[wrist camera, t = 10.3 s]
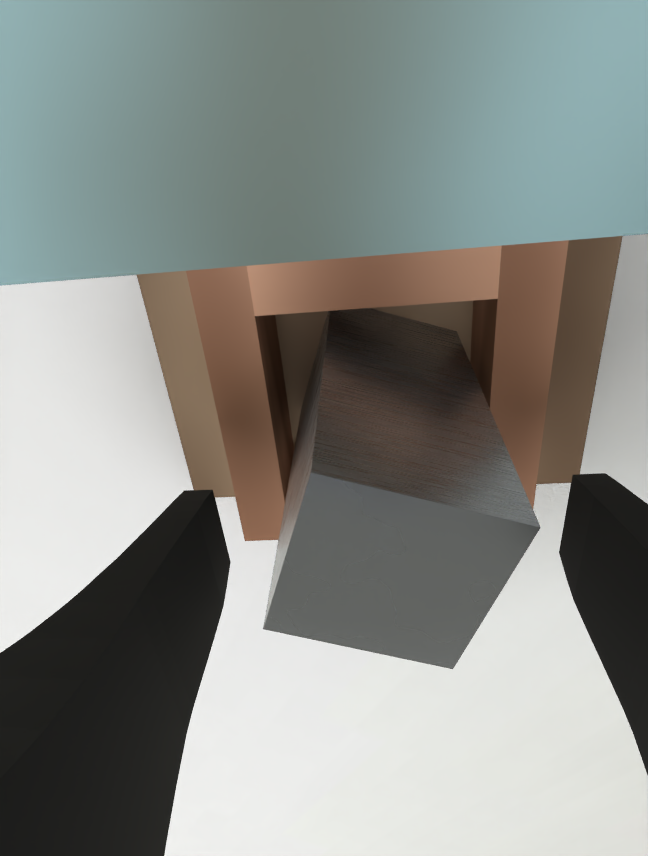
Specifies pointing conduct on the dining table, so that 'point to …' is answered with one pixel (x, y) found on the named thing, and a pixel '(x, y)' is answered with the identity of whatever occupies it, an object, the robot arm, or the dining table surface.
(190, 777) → the dining table surface
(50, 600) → the dining table surface
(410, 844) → the dining table surface
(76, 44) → the socket station
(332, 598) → the steel peg
